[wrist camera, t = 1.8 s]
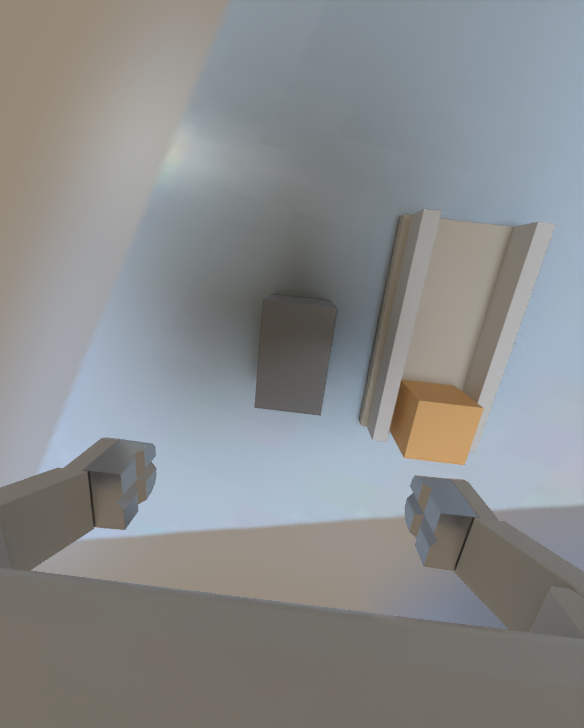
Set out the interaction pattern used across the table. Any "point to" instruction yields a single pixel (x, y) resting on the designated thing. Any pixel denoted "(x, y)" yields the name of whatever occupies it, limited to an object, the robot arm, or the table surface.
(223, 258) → the table surface
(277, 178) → the table surface
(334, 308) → the block
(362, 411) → the rail
